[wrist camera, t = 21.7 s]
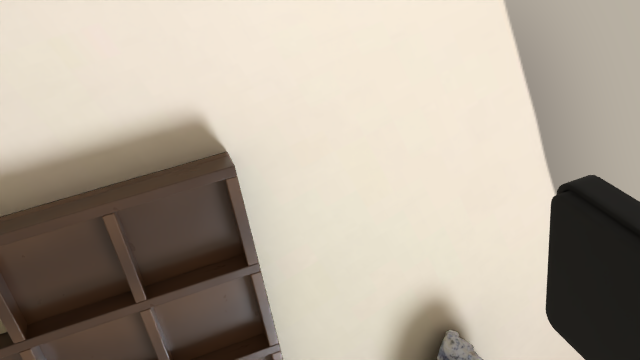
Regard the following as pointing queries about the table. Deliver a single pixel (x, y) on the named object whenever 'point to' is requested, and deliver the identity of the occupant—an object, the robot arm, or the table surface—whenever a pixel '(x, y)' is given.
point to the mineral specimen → (456, 348)
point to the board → (137, 273)
